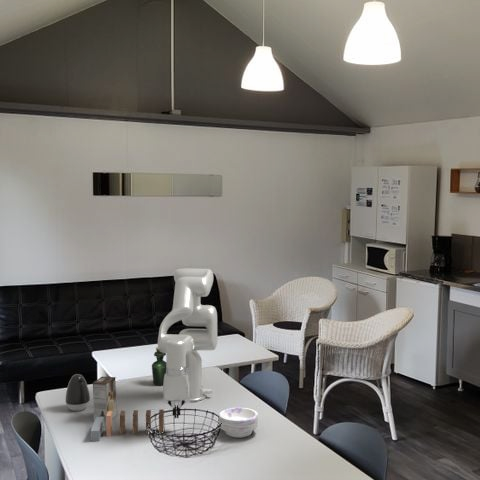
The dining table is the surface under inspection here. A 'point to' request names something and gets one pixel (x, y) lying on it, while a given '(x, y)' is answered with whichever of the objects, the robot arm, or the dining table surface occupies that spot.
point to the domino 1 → (109, 423)
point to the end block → (97, 428)
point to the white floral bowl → (238, 421)
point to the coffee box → (104, 397)
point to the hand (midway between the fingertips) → (176, 416)
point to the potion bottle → (159, 368)
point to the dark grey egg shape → (77, 393)
